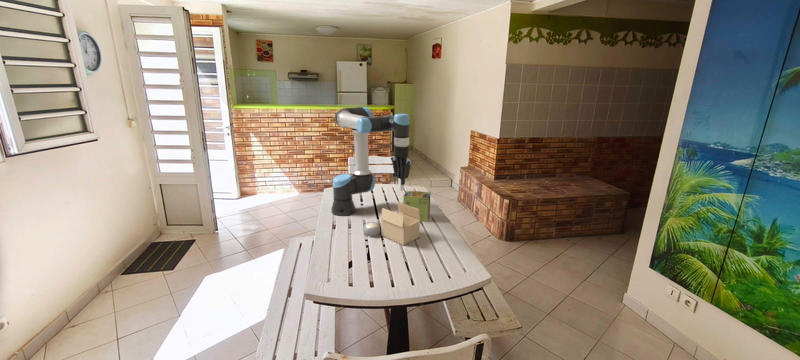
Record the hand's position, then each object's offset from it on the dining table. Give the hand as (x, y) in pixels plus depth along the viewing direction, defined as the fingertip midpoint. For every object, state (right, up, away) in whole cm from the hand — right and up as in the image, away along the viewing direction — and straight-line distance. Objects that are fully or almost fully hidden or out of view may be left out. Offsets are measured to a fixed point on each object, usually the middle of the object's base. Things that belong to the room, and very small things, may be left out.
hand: (401, 190), depth 177 cm
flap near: (-4, -14, 0) cm, 15 cm away
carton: (0, -26, +8) cm, 27 cm away
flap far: (+4, -11, +9) cm, 15 cm away
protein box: (+10, -18, +33) cm, 39 cm away
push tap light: (-16, -24, +12) cm, 31 cm away
